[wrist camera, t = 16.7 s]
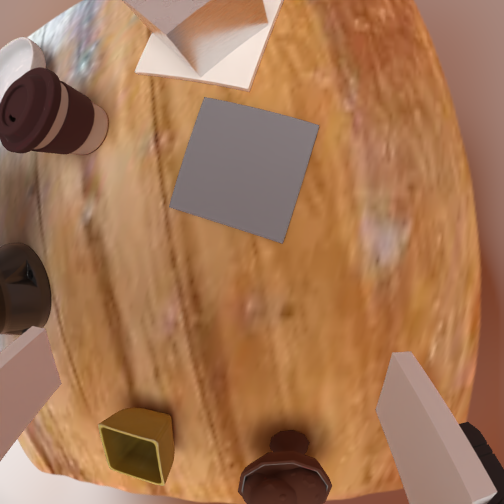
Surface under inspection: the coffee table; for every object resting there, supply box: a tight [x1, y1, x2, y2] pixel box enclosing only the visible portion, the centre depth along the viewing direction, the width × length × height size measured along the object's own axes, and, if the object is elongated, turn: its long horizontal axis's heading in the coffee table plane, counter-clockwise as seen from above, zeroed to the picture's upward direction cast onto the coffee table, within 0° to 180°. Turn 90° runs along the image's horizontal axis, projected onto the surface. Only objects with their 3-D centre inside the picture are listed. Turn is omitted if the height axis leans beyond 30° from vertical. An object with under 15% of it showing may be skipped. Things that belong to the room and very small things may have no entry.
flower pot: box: [98, 408, 174, 486], centre depth 38 cm, size 9×9×9 cm
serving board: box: [135, 0, 284, 92], centre depth 34 cm, size 16×16×1 cm
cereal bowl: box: [0, 37, 46, 102], centre depth 37 cm, size 17×17×7 cm
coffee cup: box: [0, 67, 108, 155], centre depth 32 cm, size 10×10×15 cm
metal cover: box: [122, 0, 269, 77], centre depth 28 cm, size 11×11×12 cm
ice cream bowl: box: [238, 430, 332, 504], centre depth 32 cm, size 11×11×15 cm
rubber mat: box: [169, 97, 319, 244], centre depth 36 cm, size 14×14×1 cm
